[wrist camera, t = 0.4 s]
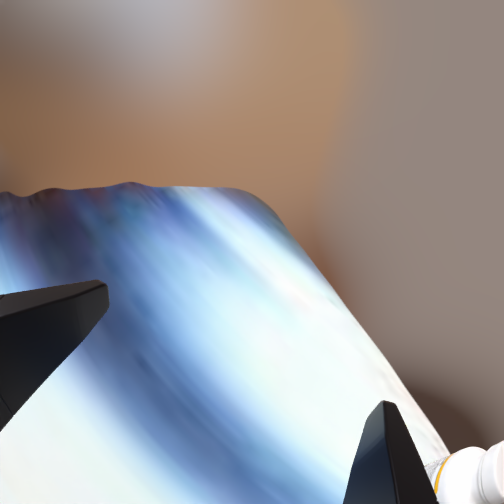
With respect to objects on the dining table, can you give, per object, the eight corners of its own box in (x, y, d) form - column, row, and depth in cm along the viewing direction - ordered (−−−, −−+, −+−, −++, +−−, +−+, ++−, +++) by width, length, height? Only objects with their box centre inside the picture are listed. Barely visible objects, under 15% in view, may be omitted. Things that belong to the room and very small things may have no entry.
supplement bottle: (416, 528, 14) (533, 493, 6) (361, 546, 13) (492, 529, 5) (411, 472, 19) (519, 420, 12) (358, 483, 18) (480, 436, 10)
